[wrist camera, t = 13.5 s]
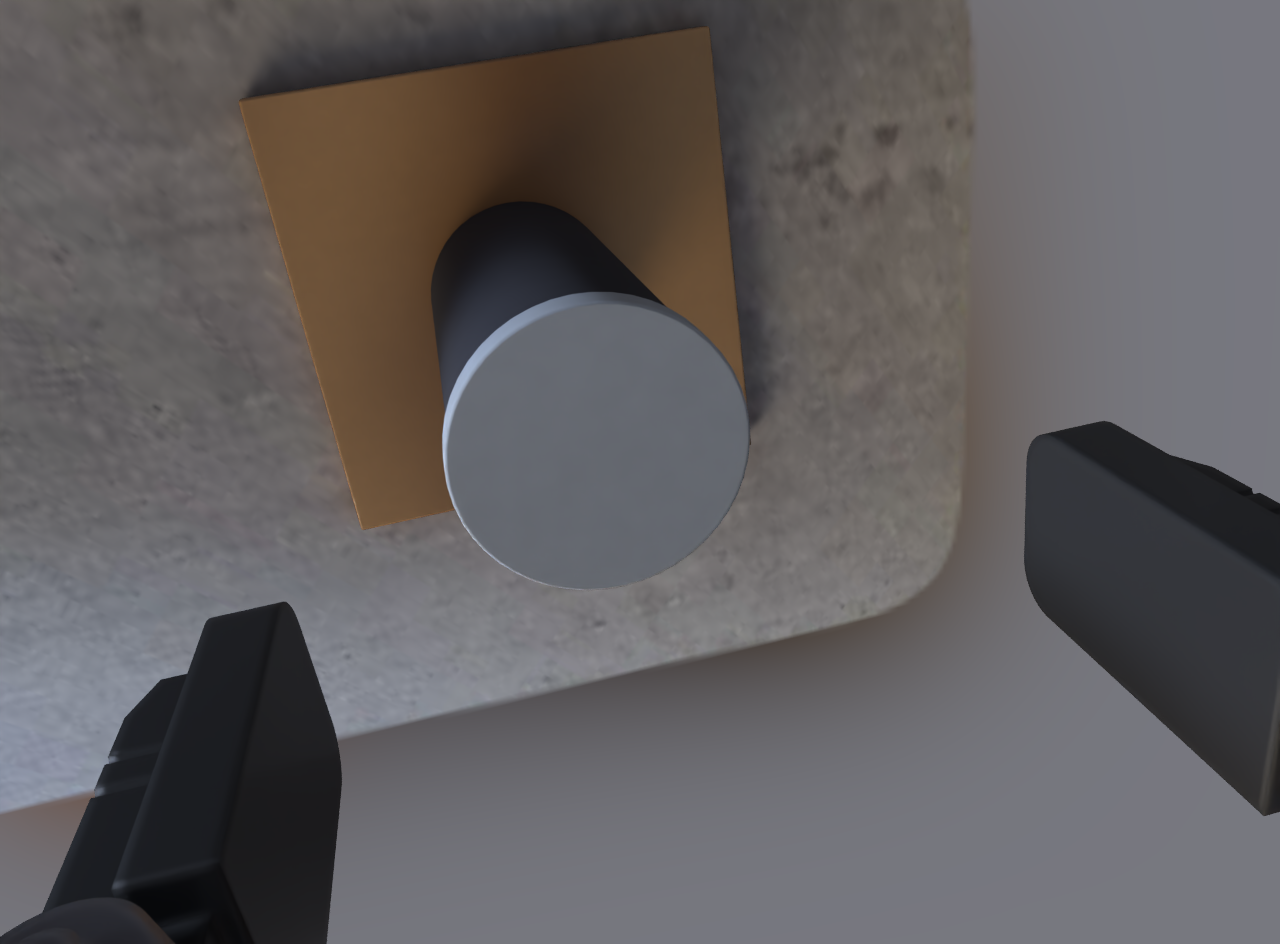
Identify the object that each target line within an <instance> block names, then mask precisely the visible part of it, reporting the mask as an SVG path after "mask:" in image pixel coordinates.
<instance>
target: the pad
mask: <svg viewBox="0 0 1280 944" xmlns="http://www.w3.org/2000/svg"><path fill="white" fill-rule="evenodd" d="M239 106H240V109H241V113H242V116H243V120H244V123H245V127H246V130H247V134H248V137H249V141H250V144H251V148H252V151H253V154H254V158H255V161H256V165H257V168H258V172H259V175H260V179H261V182H262V186H263V189H264V193H265V196H266V200H267V203H268V207H269V210H270V214H271V217H272V220H273V224H274V227H275V231H276V234H277V238H278V241H279V245H280V248H281V252H282V255H283V259H284V262H285V266H286V269H287V273H288V276H289V280H290V283H291V286H292V290H293V293H294V297H295V300H296V304H297V307H298V311H299V314H300V318H301V321H302V325H303V328H304V332H305V335H306V339H307V342H308V345H309V349H310V352H311V356H312V359H313V363H314V366H315V370H316V373H317V377H318V380H319V384H320V387H321V391H322V394H323V398H324V401H325V405H326V408H327V411H328V415H329V418H330V422H331V425H332V429H333V432H334V436H335V439H336V443H337V446H338V450H339V453H340V457H341V460H342V464H343V467H344V471H345V474H346V477H347V481H348V484H349V488H350V491H351V495H352V498H353V502H354V505H355V509H356V512H357V516H358V519H359V523H360V526H361V529H362V530H365V529H370V528H375V527H379V526H384V525H388V524H393V523H397V522H402V521H406V520H411V519H416V518H420V517H425V516H429V515H434V514H438V513H443V512H448V511H452V510H455V508H454V506H453V503H452V500H451V497H450V494H449V491H448V487H447V483H446V476H445V470H444V463H443V448H442V433H443V425H444V417H445V410H444V402H443V394H442V386H441V377H440V369H439V361H438V353H437V344H436V336H435V328H434V320H433V311H432V303H431V283H432V275H433V271H434V267H435V264H436V261H437V259H438V256H439V254H440V252H441V250H442V248H443V247H444V245H445V243H446V242H447V240H448V239H449V238H450V236H451V235H452V234H453V233H454V232H455V231H456V230H457V229H458V228H459V227H460V226H461V225H462V224H463V223H464V222H465V221H467V220H468V219H469V218H471V217H472V216H474V215H476V214H477V213H479V212H481V211H483V210H485V209H488V208H490V207H493V206H495V205H500V204H504V203H509V202H518V201H523V202H536V203H542V204H546V205H550V206H553V207H556V208H558V209H560V210H563V211H565V212H567V213H568V214H570V215H572V216H573V217H575V218H576V219H578V220H579V221H580V222H581V223H582V224H584V225H585V226H586V227H587V228H588V229H589V230H590V231H591V232H592V233H593V234H594V235H595V236H596V237H597V238H598V239H599V240H600V241H601V242H602V243H603V244H604V245H605V246H606V247H607V248H608V249H609V250H610V251H611V252H612V253H613V254H614V255H615V256H616V257H617V258H618V259H619V260H620V261H621V262H622V263H623V264H624V265H625V266H626V267H627V268H628V269H629V270H630V271H631V272H632V273H633V274H634V275H635V276H636V277H637V278H638V279H639V280H640V281H641V282H642V283H643V284H644V285H645V286H646V287H647V288H648V289H649V290H650V291H651V292H652V293H653V294H654V295H655V296H656V297H657V298H658V299H659V300H660V301H661V302H662V303H663V304H664V305H665V306H666V307H668V308H670V309H671V310H673V311H675V312H676V313H678V314H680V315H681V316H683V317H684V318H686V319H687V320H688V321H690V322H691V323H692V324H693V325H694V326H696V327H697V328H698V329H699V330H700V331H701V332H702V333H703V334H705V335H706V336H707V337H708V338H709V339H710V340H711V342H712V343H713V344H714V345H715V346H716V347H717V348H718V349H719V350H720V351H721V353H722V354H723V355H724V357H725V358H726V360H727V361H728V363H729V364H730V366H731V367H732V369H733V371H734V373H735V375H736V377H737V379H738V381H739V383H740V385H741V388H742V391H743V394H744V397H745V400H746V404H747V399H746V389H745V379H744V369H743V359H742V349H741V339H740V329H739V318H738V308H737V298H736V288H735V278H734V268H733V258H732V248H731V238H730V228H729V218H728V208H727V198H726V188H725V178H724V168H723V158H722V148H721V138H720V128H719V118H718V108H717V98H716V88H715V78H714V68H713V58H712V48H711V38H710V29H709V27H708V26H700V27H694V28H688V29H681V30H675V31H668V32H662V33H656V34H649V35H643V36H637V37H630V38H624V39H617V40H611V41H605V42H598V43H592V44H586V45H579V46H573V47H566V48H560V49H554V50H547V51H541V52H534V53H528V54H522V55H515V56H509V57H503V58H496V59H490V60H483V61H477V62H471V63H464V64H458V65H452V66H445V67H439V68H432V69H426V70H420V71H413V72H407V73H401V74H394V75H388V76H381V77H375V78H369V79H362V80H356V81H350V82H343V83H337V84H330V85H324V86H318V87H311V88H305V89H299V90H292V91H286V92H279V93H273V94H267V95H260V96H254V97H248V98H242V99H240V100H239ZM747 410H748V409H747ZM750 445H751V439H750Z"/></svg>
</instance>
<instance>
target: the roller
mask: <svg viewBox="0 0 1280 944" xmlns="http://www.w3.org/2000/svg"><path fill="white" fill-rule="evenodd" d="M431 303H432V311H433V320H434V328H435V336H436V344H437V353H438V361H439V369H440V377H441V386H442V394H443V402H444V410H445V417H444V425H443V433H442V448H443V463H444V470H445V476H446V483H447V487H448V491H449V494H450V497H451V500H452V503H453V506H454V508H455V510H456V512H457V514H458V516H459V518H460V520H461V522H462V523H463V525H464V526H465V528H466V529H467V531H468V532H469V534H470V535H471V537H472V538H473V539H474V540H475V541H476V542H477V543H478V544H479V545H480V547H481V548H482V549H483V550H484V551H485V552H487V553H488V554H489V555H490V556H491V557H493V558H494V559H495V560H496V561H497V562H499V563H500V564H502V565H503V566H505V567H507V568H508V569H510V570H511V571H513V572H515V573H517V574H519V575H521V576H523V577H526V578H528V579H530V580H532V581H536V582H539V583H542V584H545V585H548V586H553V587H559V588H564V589H573V590H601V589H610V588H615V587H621V586H626V585H629V584H632V583H636V582H639V581H643V580H645V579H647V578H650V577H652V576H654V575H657V574H659V573H661V572H663V571H665V570H666V569H668V568H670V567H672V566H674V565H675V564H677V563H678V562H680V561H681V560H683V559H684V558H685V557H687V556H688V555H689V554H691V553H692V552H693V551H694V550H695V549H697V548H698V547H699V546H700V545H701V544H702V543H703V542H704V541H705V540H706V539H707V538H708V537H709V536H710V535H711V534H712V532H713V531H714V530H715V529H716V528H717V527H718V525H719V524H720V523H721V521H722V520H723V518H724V517H725V515H726V514H727V512H728V511H729V509H730V507H731V505H732V503H733V501H734V499H735V498H736V496H737V494H738V491H739V488H740V486H741V483H742V480H743V478H744V474H745V469H746V465H747V461H748V455H749V445H750V421H749V416H748V410H747V404H746V400H745V397H744V394H743V391H742V388H741V385H740V383H739V381H738V379H737V377H736V375H735V373H734V371H733V369H732V367H731V366H730V364H729V363H728V361H727V360H726V358H725V357H724V355H723V354H722V353H721V351H720V350H719V349H718V348H717V347H716V346H715V345H714V344H713V343H712V342H711V340H710V339H709V338H708V337H707V336H706V335H705V334H703V333H702V332H701V331H700V330H699V329H698V328H697V327H696V326H694V325H693V324H692V323H691V322H690V321H688V320H687V319H686V318H684V317H683V316H681V315H680V314H678V313H676V312H675V311H673V310H671V309H670V308H668V307H666V306H665V305H664V304H663V303H662V302H661V301H660V300H659V299H658V298H657V297H656V296H655V295H654V294H653V293H652V292H651V291H650V290H649V289H648V288H647V287H646V286H645V285H644V284H643V283H642V282H641V281H640V280H639V279H638V278H637V277H636V276H635V275H634V274H633V273H632V272H631V271H630V270H629V269H628V268H627V267H626V266H625V265H624V264H623V263H622V262H621V261H620V260H619V259H618V258H617V257H616V256H615V255H614V254H613V253H612V252H611V251H610V250H609V249H608V248H607V247H606V246H605V245H604V244H603V243H602V242H601V241H600V240H599V239H598V238H597V237H596V236H595V235H594V234H593V233H592V232H591V231H590V230H589V229H588V228H587V227H586V226H585V225H584V224H582V223H581V222H580V221H579V220H578V219H576V218H575V217H573V216H572V215H570V214H568V213H567V212H565V211H563V210H560V209H558V208H556V207H553V206H550V205H546V204H542V203H536V202H523V201H518V202H509V203H504V204H500V205H495V206H493V207H490V208H488V209H485V210H483V211H481V212H479V213H477V214H476V215H474V216H472V217H471V218H469V219H468V220H467V221H465V222H464V223H463V224H462V225H461V226H460V227H459V228H458V229H457V230H456V231H455V232H454V233H453V234H452V235H451V236H450V238H449V239H448V240H447V242H446V243H445V245H444V247H443V248H442V250H441V252H440V254H439V256H438V259H437V261H436V264H435V267H434V271H433V275H432V283H431Z"/></svg>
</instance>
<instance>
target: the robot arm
mask: <svg viewBox="0 0 1280 944" xmlns="http://www.w3.org/2000/svg"><path fill="white" fill-rule="evenodd" d="M1024 550H1025V551H1024V563H1025V571H1026V576H1027V581H1028V584H1029V587H1030V590H1031V592H1032V594H1033V596H1034V599H1035V600H1036V602H1037V603H1038V606H1039V607H1040V608H1041V610H1042V611H1043V612H1044V613H1045V614H1046V616H1047V617H1048V618H1050V619H1051V620H1052V621H1053V622H1054V623H1055V624H1056V625H1057V626H1058V627H1059V628H1060V629H1062V630H1063V631H1064V632H1065V633H1066V634H1067V635H1068V636H1069V637H1071V639H1072V640H1073V641H1075V642H1076V643H1077V644H1078V645H1079V646H1080V647H1081V648H1082V649H1083V650H1084V651H1085V652H1086V653H1088V654H1089V655H1090V656H1091V657H1092V658H1093V659H1094V660H1095V661H1096V662H1097V663H1098V664H1099V665H1101V666H1102V667H1103V668H1104V669H1105V670H1106V671H1107V672H1108V673H1109V674H1110V675H1111V676H1112V677H1114V678H1115V679H1116V680H1117V681H1118V682H1119V683H1120V684H1121V685H1122V686H1123V687H1124V688H1125V689H1127V690H1128V691H1129V692H1130V693H1131V694H1132V695H1133V696H1134V697H1135V698H1136V699H1138V700H1139V701H1140V702H1141V703H1142V704H1143V705H1144V706H1145V707H1146V708H1147V709H1148V710H1149V711H1150V712H1151V713H1153V714H1154V715H1155V716H1156V717H1157V718H1158V719H1159V720H1160V721H1161V722H1162V723H1163V724H1165V725H1166V726H1167V727H1168V728H1169V729H1170V730H1171V731H1172V732H1173V733H1174V734H1175V735H1176V736H1178V737H1179V738H1180V739H1181V740H1182V741H1183V742H1184V743H1185V744H1186V745H1187V746H1188V747H1189V748H1191V749H1192V750H1193V751H1194V752H1195V753H1196V754H1197V755H1198V756H1199V757H1200V758H1201V759H1202V760H1204V761H1205V762H1206V763H1207V764H1208V765H1209V766H1210V767H1211V768H1212V769H1213V770H1214V771H1216V772H1217V773H1218V774H1219V775H1220V776H1221V777H1222V778H1223V779H1224V780H1225V781H1226V782H1227V783H1228V784H1230V785H1231V786H1232V787H1233V788H1234V789H1235V790H1236V791H1237V792H1238V793H1239V794H1240V795H1242V796H1243V797H1244V798H1245V799H1246V800H1247V801H1248V802H1249V803H1250V804H1251V805H1252V806H1253V807H1254V808H1256V809H1257V810H1258V811H1259V812H1260V813H1261V814H1262V815H1263V816H1266V815H1270V814H1273V813H1277V812H1280V504H1279V503H1277V502H1276V501H1274V500H1272V499H1270V498H1268V497H1267V496H1265V495H1263V494H1261V493H1257V494H1253V492H1252V488H1250V487H1248V486H1246V485H1245V484H1243V483H1241V482H1239V481H1237V480H1235V479H1234V478H1232V477H1230V476H1228V475H1226V474H1224V473H1222V472H1220V471H1219V470H1217V469H1215V468H1213V467H1210V466H1207V465H1203V464H1199V463H1196V462H1193V461H1189V460H1185V459H1182V458H1179V457H1175V456H1171V455H1169V454H1167V453H1165V452H1163V451H1162V450H1160V449H1158V448H1156V447H1155V446H1153V445H1151V444H1149V443H1147V442H1146V441H1144V440H1142V439H1140V438H1138V437H1137V436H1135V435H1133V434H1131V433H1129V432H1128V431H1126V430H1124V429H1122V428H1121V427H1119V426H1117V425H1115V424H1113V423H1111V422H1106V421H1102V422H1096V423H1092V424H1087V425H1082V426H1078V427H1073V428H1069V429H1065V430H1060V431H1056V432H1051V433H1047V434H1042V435H1039V436H1037V437H1036V438H1035V439H1034V440H1033V441H1032V443H1031V444H1030V447H1029V450H1028V455H1027V468H1026V509H1025V548H1024ZM108 758H109V764H106V765H105V766H104V768H103V770H102V773H101V775H100V777H99V780H98V782H97V785H96V787H95V789H94V791H95V798H91V799H90V801H89V803H88V806H87V808H86V811H85V813H84V815H83V818H82V820H81V822H80V825H79V827H78V830H77V832H76V834H75V837H74V839H73V841H72V844H71V846H70V848H69V851H68V853H67V856H66V858H65V860H64V863H63V865H62V867H61V870H60V872H59V874H58V877H57V879H56V881H55V884H54V886H53V889H52V891H51V893H50V896H49V898H48V900H47V903H46V905H45V907H44V910H43V912H42V913H41V914H39V915H37V916H35V917H33V918H31V919H29V920H27V921H25V922H23V923H21V924H20V925H18V926H16V927H15V928H13V929H11V930H10V931H8V932H6V933H5V934H4V935H2V936H1V937H0V944H326V942H327V931H328V922H329V912H330V901H331V891H332V880H333V870H334V859H335V850H336V839H337V829H338V819H339V808H340V798H341V786H342V773H341V761H340V754H339V748H338V742H337V738H336V733H335V730H334V726H333V723H332V720H331V717H330V714H329V711H328V708H327V705H326V702H325V699H324V696H323V693H322V690H321V687H320V684H319V681H318V678H317V675H316V672H315V669H314V666H313V663H312V660H311V658H310V655H309V652H308V649H307V646H306V643H305V640H304V637H303V634H302V631H301V628H300V625H299V622H298V620H297V617H296V615H295V613H294V611H293V609H292V607H291V606H290V605H289V604H288V603H287V602H280V603H276V604H271V605H267V606H262V607H258V608H253V609H249V610H244V611H240V612H235V613H231V614H226V615H222V616H217V617H213V618H210V619H208V620H207V621H206V623H205V626H204V628H203V631H202V634H201V637H200V640H199V642H198V645H197V648H196V651H195V654H194V657H193V659H192V662H191V665H190V668H189V671H188V673H187V674H184V675H180V676H175V677H171V678H167V679H162V680H160V681H159V682H158V683H157V684H156V686H155V687H154V688H153V689H152V690H151V691H150V692H149V693H148V694H147V695H146V696H145V697H144V698H143V699H142V700H141V701H140V702H139V703H138V704H137V705H136V707H135V708H134V709H133V710H132V711H131V712H130V713H129V714H128V715H127V716H126V717H125V718H124V721H123V723H122V725H121V728H120V730H119V733H118V735H117V737H116V740H115V742H114V744H113V747H112V749H111V751H110V754H109V756H108Z"/></svg>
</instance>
